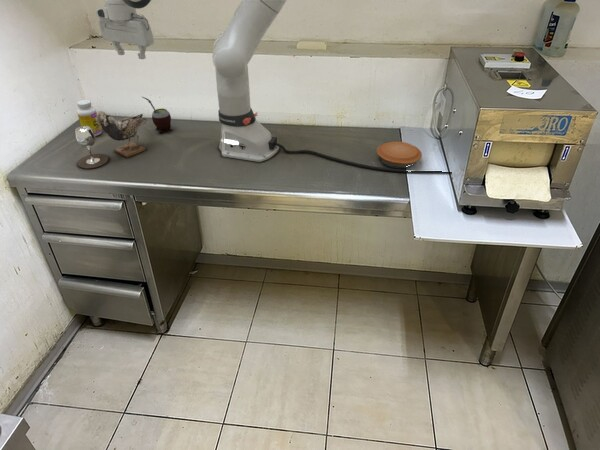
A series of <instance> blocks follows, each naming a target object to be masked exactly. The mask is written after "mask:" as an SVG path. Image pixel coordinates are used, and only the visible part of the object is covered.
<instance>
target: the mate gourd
mask: <svg viewBox="0 0 600 450" xmlns="http://www.w3.org/2000/svg"><path fill="white" fill-rule="evenodd" d="M141 98H143V99H144V100H146V101H148V103H149V105H150V106H151V107H152V109H153V112H151V113H152V114H151V121H152V123H153V124H154V126H155V127H156V131H159V134H160V135H161V134H163V133H164V132H172V129H171V127H172V123H171V122H172V116H171V113H170V112H169V111H168V109H167V108H155V106H154V105H153V103H152V101H151V100H150V99H149V98H148V97H144V96H141Z"/></svg>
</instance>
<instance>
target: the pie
mask: <svg viewBox="0 0 600 450" xmlns="http://www.w3.org/2000/svg"><path fill="white" fill-rule="evenodd" d="M376 153H377V155H378V157H379V158H380V160H381V162H382V164H384V165H385V166H387V167H388V168H391V169H404V170H405V169H408V168H411V167H412V166H413V165H414V164H416V163H417V162H418V161H419V160H421V159H422V156H423V154H422V151H421V150H420V149H419V147H418V146H415V145H413V144H411V143H408V142H404V141H389V142H385V143H382V144H381V145H379V146H377V148H376ZM412 164H413V165H412ZM408 165H411V166H408ZM406 166H408V167H406Z"/></svg>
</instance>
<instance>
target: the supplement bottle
mask: <svg viewBox="0 0 600 450" xmlns="http://www.w3.org/2000/svg"><path fill="white" fill-rule="evenodd" d="M76 104H77V107H78V109H77V110H76V114H77V117H78V120H79V123H80V127H82V126H89V127H90V128H91V130H92V131H93V133H94V135H95V137H98V136H100V135H102V132H103V129H102V127H101V125H100V126H98V127H97V125H98V123H97V120H96V118H97V112H98V111H97V110H96V108H95V107H94V106H93V105H92V101H91V100H89V99H81V100H78V101H77V102H76ZM96 127H97V128H96ZM95 128H96V129H95ZM94 129H95V130H94Z"/></svg>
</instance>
